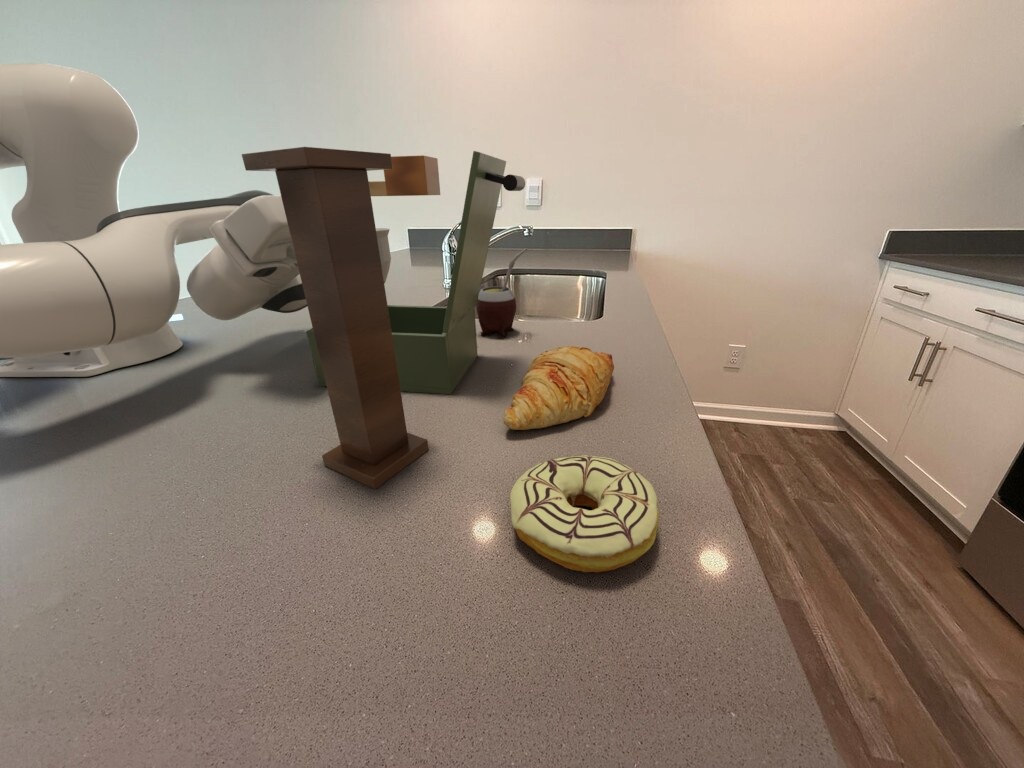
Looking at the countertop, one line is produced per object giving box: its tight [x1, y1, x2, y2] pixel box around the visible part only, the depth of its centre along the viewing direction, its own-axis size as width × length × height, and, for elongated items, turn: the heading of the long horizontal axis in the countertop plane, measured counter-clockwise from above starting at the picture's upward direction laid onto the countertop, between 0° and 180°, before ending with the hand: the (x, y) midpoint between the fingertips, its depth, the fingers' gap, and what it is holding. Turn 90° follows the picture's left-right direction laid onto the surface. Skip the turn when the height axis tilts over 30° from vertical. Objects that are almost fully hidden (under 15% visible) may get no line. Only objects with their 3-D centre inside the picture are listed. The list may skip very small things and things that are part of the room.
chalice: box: [376, 227, 392, 284], centre depth 72 cm, size 7×7×18 cm
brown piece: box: [368, 154, 441, 197], centre depth 49 cm, size 14×4×4 cm, turn 80°
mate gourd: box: [475, 247, 528, 339], centre depth 71 cm, size 8×8×15 cm
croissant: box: [503, 345, 615, 431], centre depth 48 cm, size 21×10×8 cm, turn 141°
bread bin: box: [306, 304, 478, 395], centre depth 58 cm, size 19×14×8 cm
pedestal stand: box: [241, 146, 430, 490], centre depth 34 cm, size 7×7×26 cm
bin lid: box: [443, 150, 526, 334], centre depth 50 cm, size 19×14×4 cm
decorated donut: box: [509, 454, 660, 574], centre depth 30 cm, size 10×11×4 cm
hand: (349, 185), depth 50 cm, fingers closed on brown piece, 2 cm apart
